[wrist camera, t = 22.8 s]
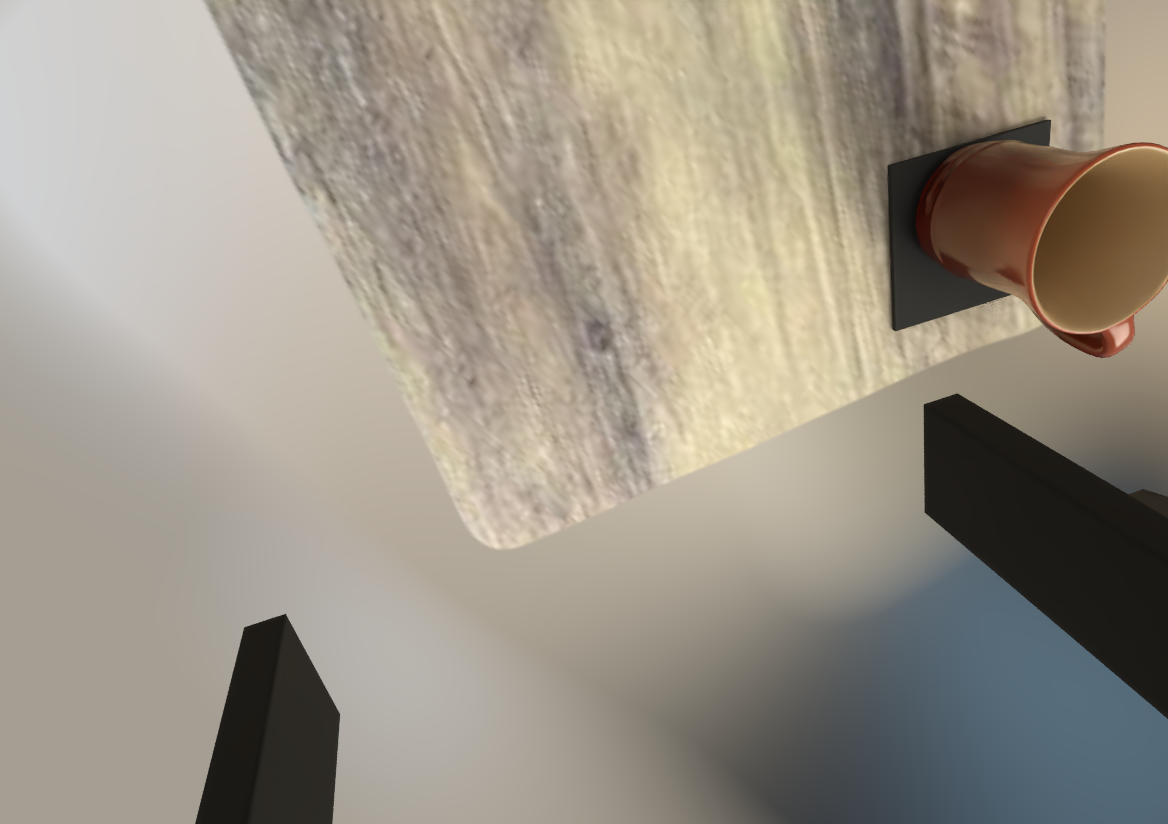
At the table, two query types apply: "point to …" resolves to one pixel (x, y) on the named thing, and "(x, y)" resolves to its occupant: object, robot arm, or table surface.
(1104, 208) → the mug
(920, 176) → the mat
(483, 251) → the table surface
